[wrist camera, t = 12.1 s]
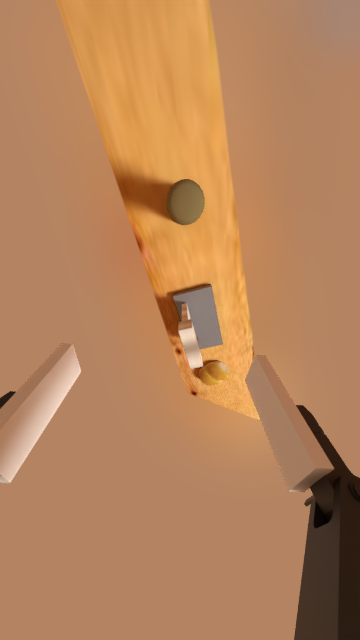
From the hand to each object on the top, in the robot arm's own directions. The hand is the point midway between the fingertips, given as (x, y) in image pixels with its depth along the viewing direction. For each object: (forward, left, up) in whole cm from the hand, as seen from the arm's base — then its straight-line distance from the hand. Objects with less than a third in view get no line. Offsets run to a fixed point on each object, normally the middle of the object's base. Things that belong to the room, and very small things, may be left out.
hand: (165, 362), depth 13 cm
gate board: (+13, +7, -29) cm, 32 cm away
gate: (+13, +5, -27) cm, 30 cm away
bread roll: (+31, +14, -29) cm, 45 cm away
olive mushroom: (-11, +1, -29) cm, 31 cm away
